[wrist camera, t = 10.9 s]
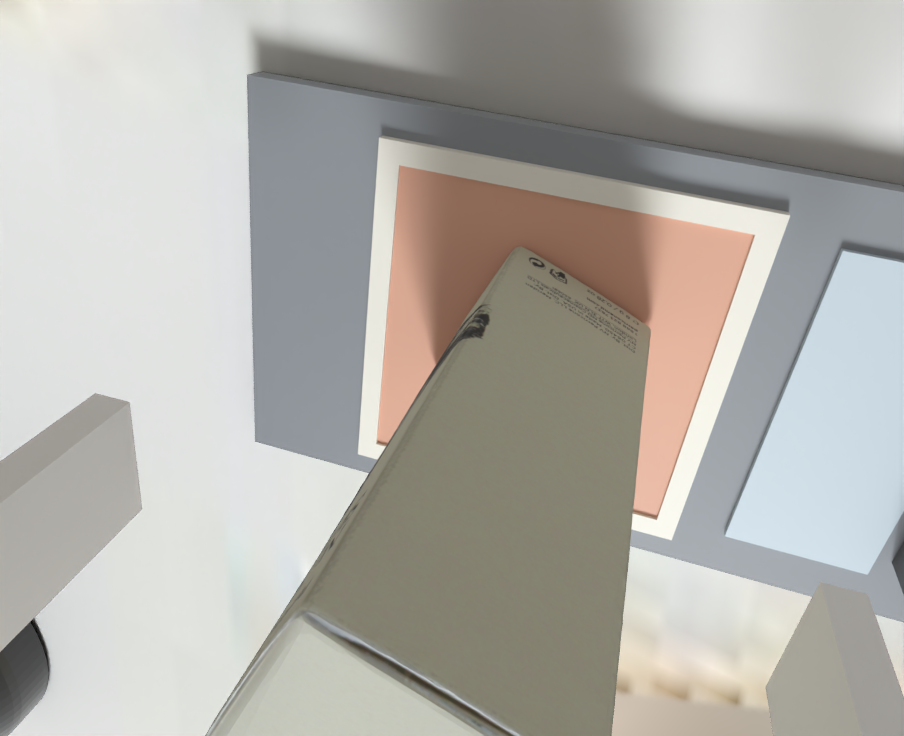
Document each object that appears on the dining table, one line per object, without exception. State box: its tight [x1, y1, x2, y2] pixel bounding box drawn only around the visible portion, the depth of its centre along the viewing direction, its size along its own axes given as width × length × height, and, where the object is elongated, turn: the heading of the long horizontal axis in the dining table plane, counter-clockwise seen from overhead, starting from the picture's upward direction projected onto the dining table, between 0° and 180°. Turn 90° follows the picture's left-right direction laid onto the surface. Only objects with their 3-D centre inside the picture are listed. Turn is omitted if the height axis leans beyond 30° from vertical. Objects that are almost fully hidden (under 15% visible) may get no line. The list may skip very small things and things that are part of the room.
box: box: [205, 246, 651, 736], centre depth 15 cm, size 5×4×13 cm
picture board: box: [247, 72, 904, 622], centre depth 19 cm, size 30×12×3 cm, turn 83°
